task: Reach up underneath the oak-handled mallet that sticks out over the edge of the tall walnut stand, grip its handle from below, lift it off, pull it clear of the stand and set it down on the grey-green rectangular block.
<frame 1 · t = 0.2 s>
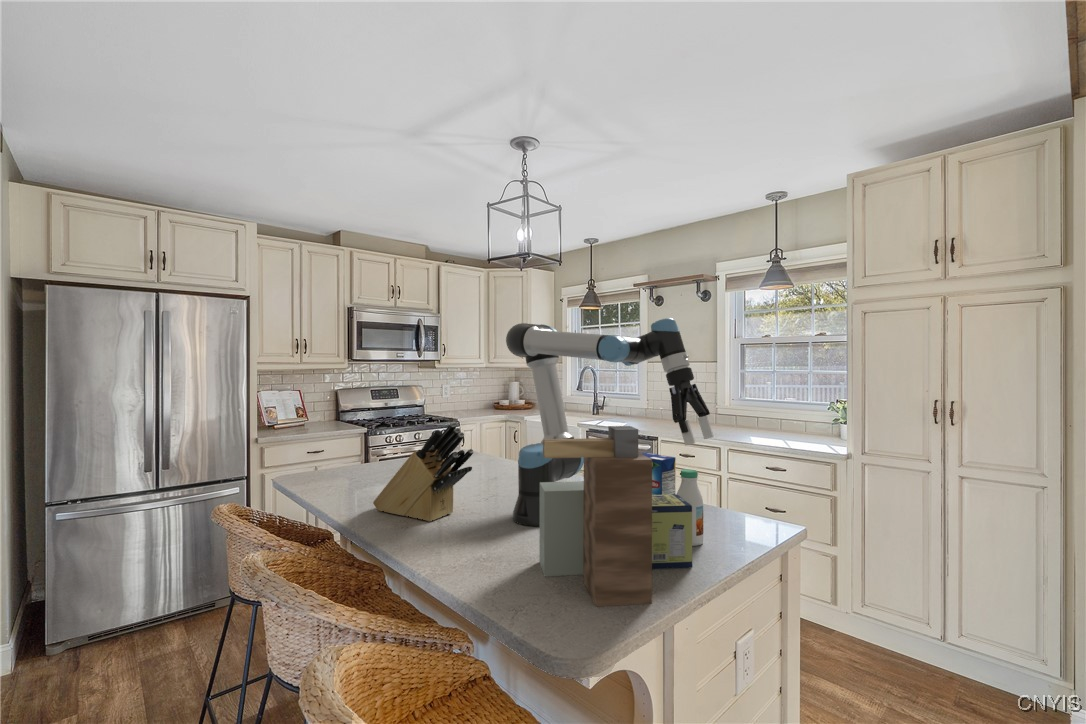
hand: (700, 441, 146), 28 cm above the counter, tool tilted 20°, fingers open, 13 cm apart
protein box: (656, 561, 130), on the counter
mallet: (589, 455, 111), point 30 cm above the counter, touching stand
stand: (616, 592, 112), on the counter
milk bottle: (688, 542, 144), on the counter
grey-green rectangular block: (568, 567, 125), on the counter
beverage box: (653, 529, 155), on the counter
knife block: (422, 515, 169), on the counter
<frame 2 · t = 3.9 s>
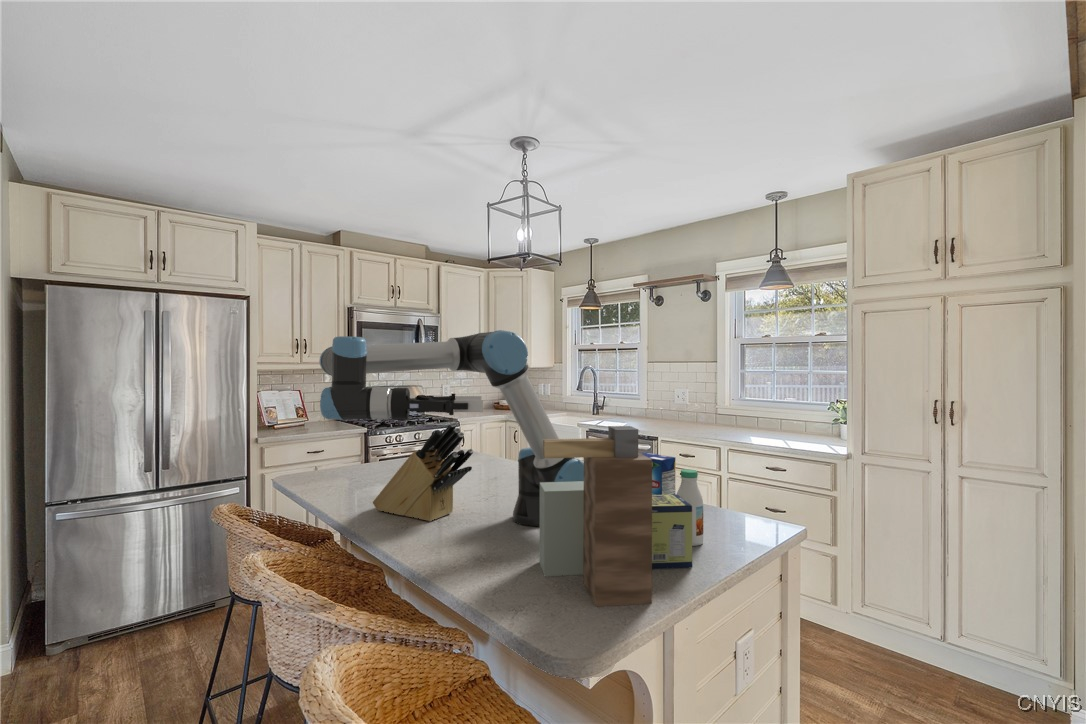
hand: (482, 403, 124), 40 cm above the counter, tool horizontal, fingers open, 13 cm apart
nothing on the counter moved.
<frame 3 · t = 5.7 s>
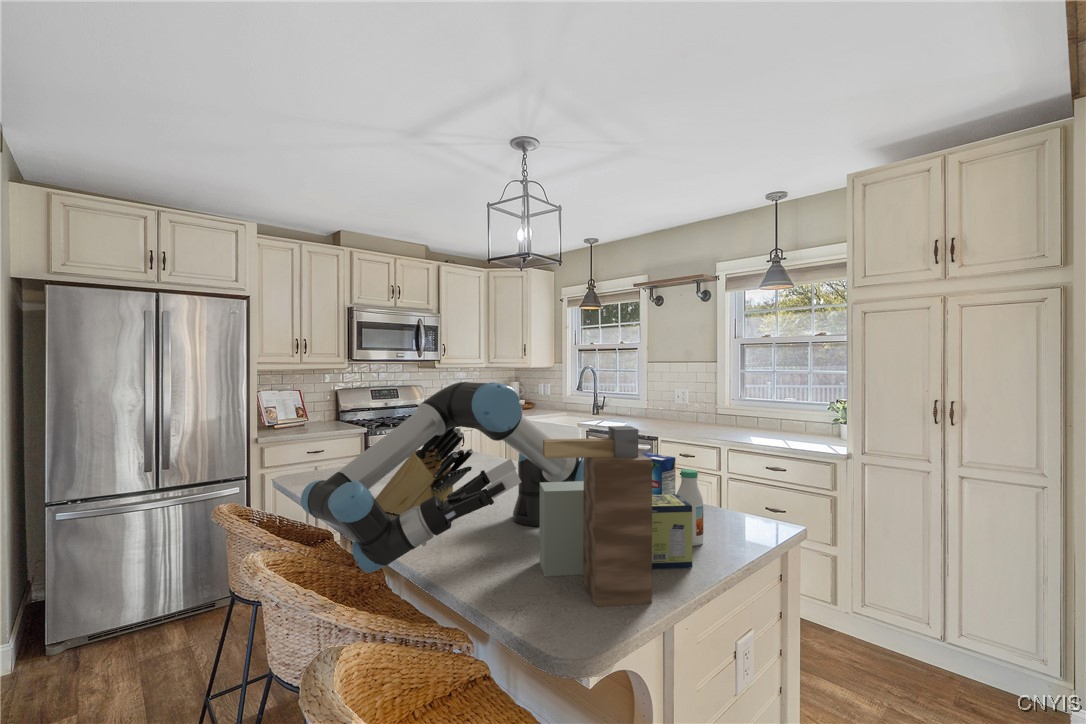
hand: (516, 469, 110), 27 cm above the counter, tool pointing upward, fingers open, 13 cm apart
nothing on the counter moved.
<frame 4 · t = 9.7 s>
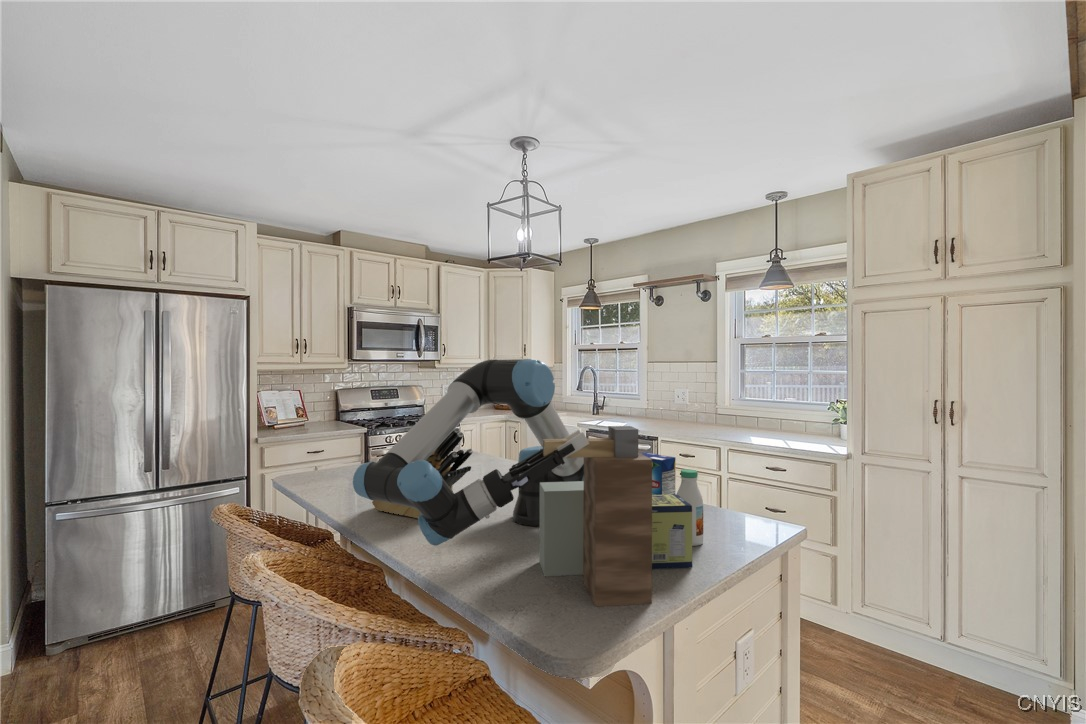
hand: (583, 436, 111), 34 cm above the counter, tool pointing upward, fingers closed on mallet, 3 cm apart
mallet: (589, 455, 111), point 30 cm above the counter, touching gripper
everything else where it was.
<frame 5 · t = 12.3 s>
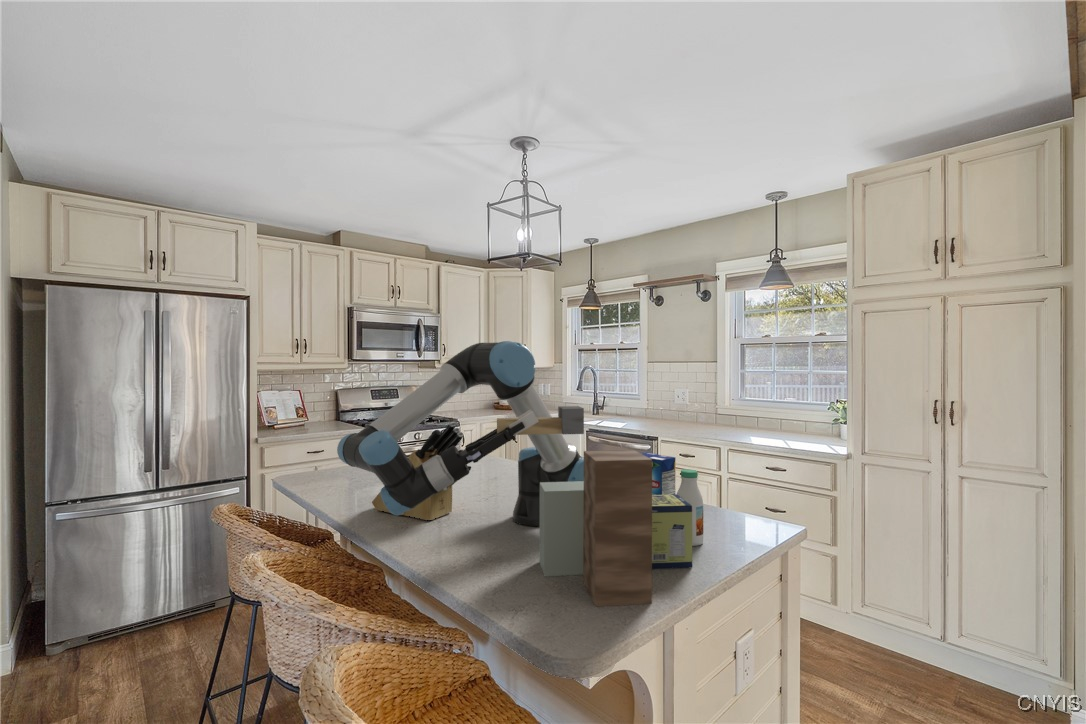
hand: (534, 415, 121), 38 cm above the counter, tool pointing upward, fingers closed on mallet, 3 cm apart
mallet: (539, 433, 121), point 34 cm above the counter, touching gripper
everything else where it was.
when the fingers open (26 cm above the counter, at t = 15.2 s): mallet drops 1 cm, resting on grey-green rectangular block.
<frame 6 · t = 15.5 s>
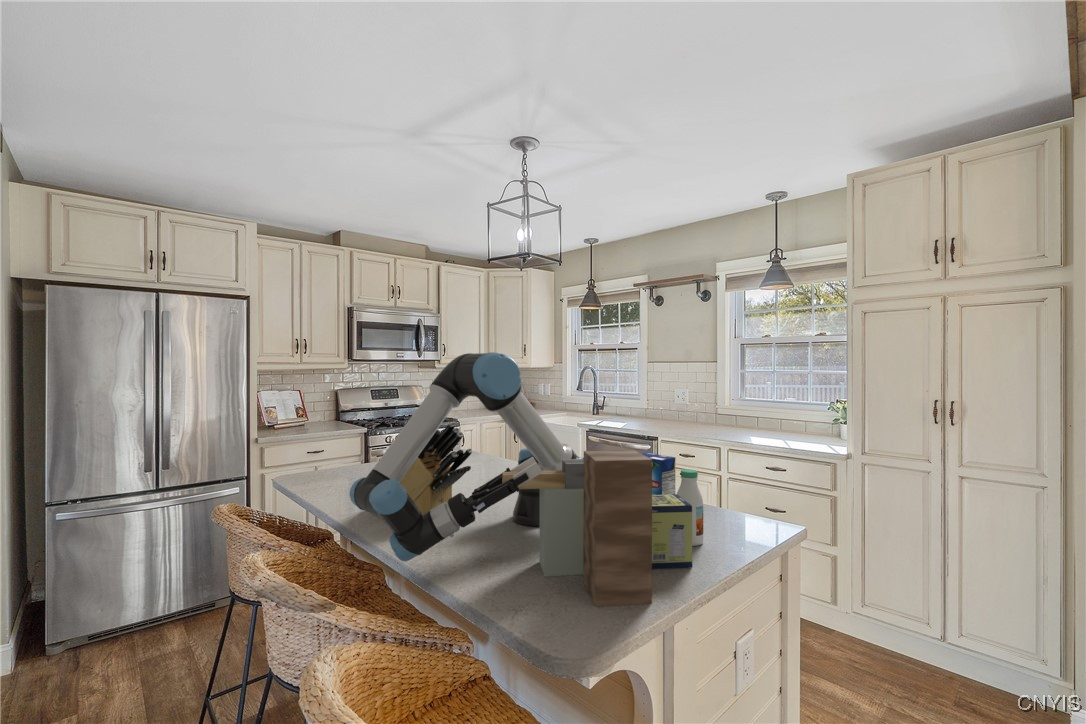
hand: (537, 464, 124), 26 cm above the counter, tool pointing upward, fingers open, 7 cm apart
mallet: (543, 486, 125), point 20 cm above the counter, touching grey-green rectangular block
everything else where it was.
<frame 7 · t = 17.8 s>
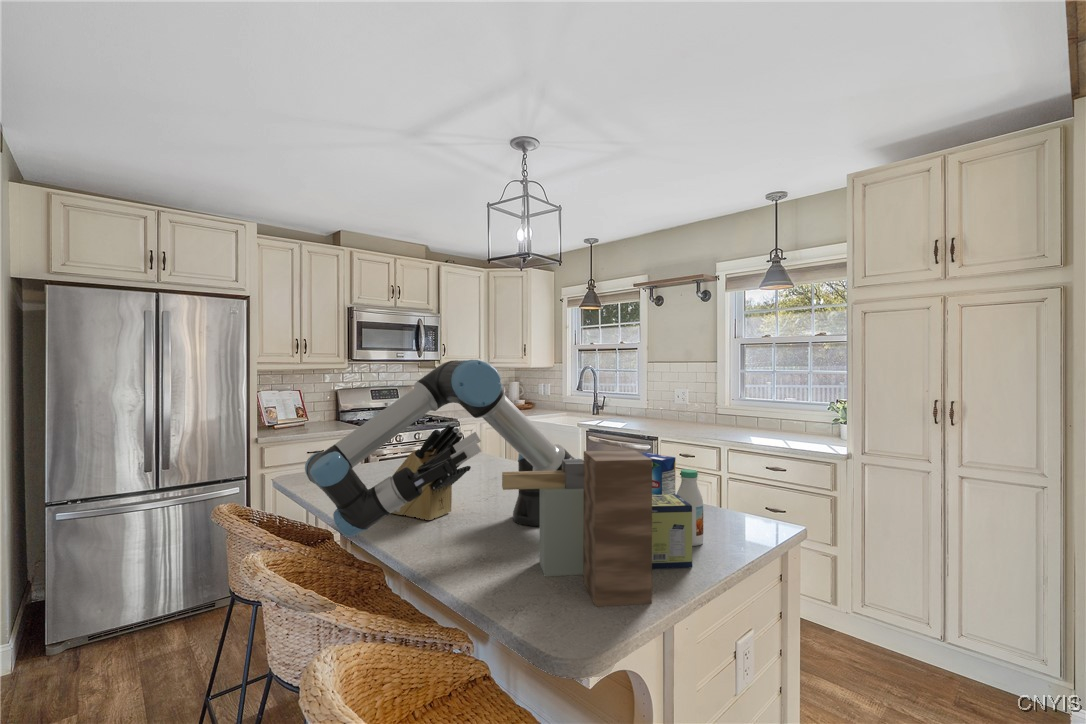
hand: (478, 440, 122), 32 cm above the counter, tool pointing upward, fingers open, 13 cm apart
nothing on the counter moved.
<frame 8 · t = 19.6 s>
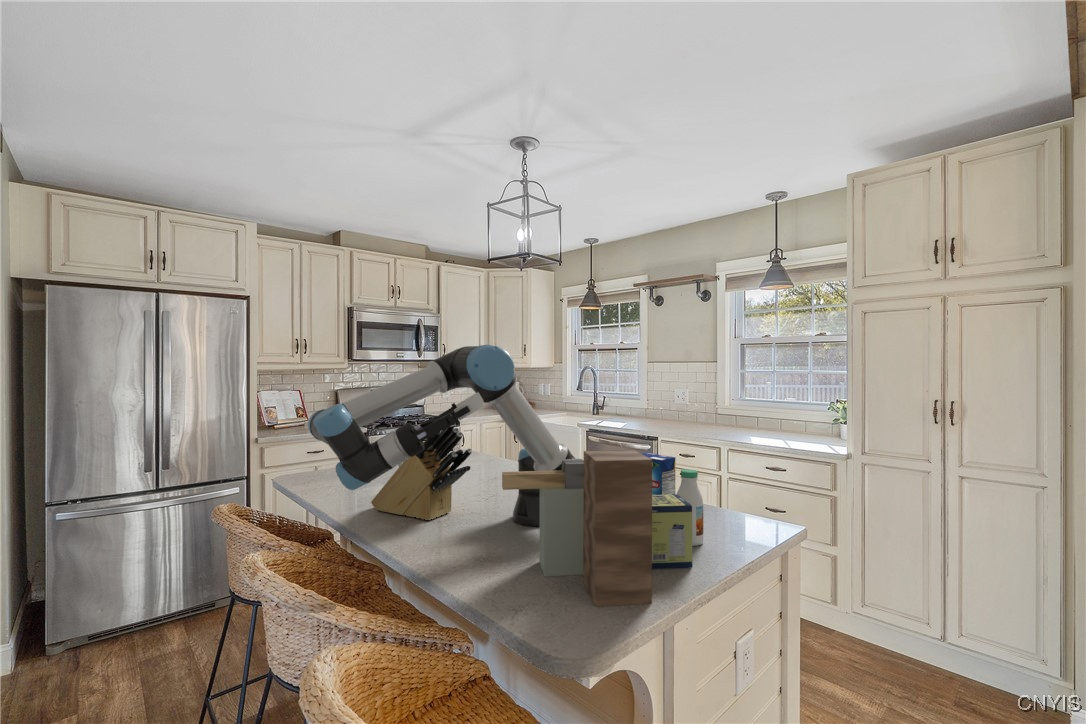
hand: (481, 398, 123), 42 cm above the counter, tool pointing upward, fingers open, 13 cm apart
at the end: mallet inside the target area on the grey-green rectangular block (1.1 cm from its centre), point 20.0 cm above the grey-green rectangular block's base; the gripper is holding nothing; mallet moved 19.4 cm from its start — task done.
